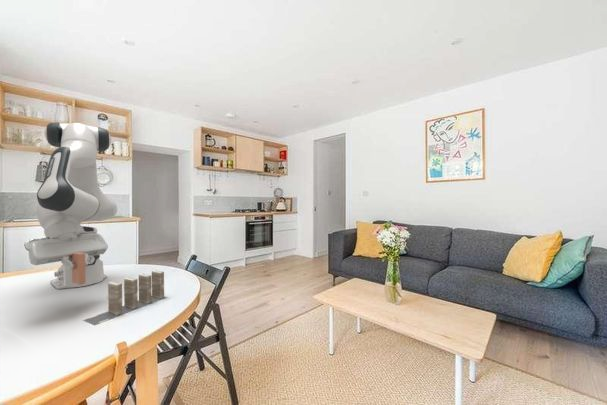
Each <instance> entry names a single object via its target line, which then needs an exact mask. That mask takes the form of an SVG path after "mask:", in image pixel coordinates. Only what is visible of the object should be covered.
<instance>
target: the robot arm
mask: <svg viewBox="0 0 607 405" xmlns="http://www.w3.org/2000/svg"><path fill="white" fill-rule="evenodd" d="M43 132H44V137H45V140H46V141H47V143H48V144H49V145H50V146H52V147H56V148H55V150H54V151H53V152H52V153H51V154H50V158H49V160H48V162H47V167H46V171H45V175H44V177H43V181H42V183H41V185H40V186H39V188H38V190H37V192H36V200H37V202H38V203H37V206H36V217H37V220H38V223H39V224H40V225H39V226H41V228H42V229H44V230H43V233H44V237H41V238H30V239H29V240H27V241H25V242H24V243H23V244H24V245H23V246H24V248H25V250H26V251H28V258H29V263H30V264H31V265H33V266H40V265H46V264H53V263H57V262H61V264H62V265H61V266H60V267H59V268H58V269H57V271H54V277H55V278H54V279H53V278H52V279H51V280H50V284H51V285H52V286H53V287H54V288H55V289H56V290H59V289H68V288H69V289H70V288H71V289H72V288H80V287H86V286H90V285H91V286H92V285H95V284H98V283H100V282H102V281H104V279H107V277H108V275H107V274H105V271H104V270H105V268H104V261H103V260H101V259H100V258H101V255H104V254H105V253H106V251H107V250H108V248H109V245H108V244H107V242H106V240H105V238H104V237H103V236H102V234H99V233H98V229H97V228H96V227H95V226H93V227H92V226H87V225H86V226H84V225H81V223H84V222H89V223H90V222H101V221H107V220H113V218H114V217H115V216H116V215H117V212H118V206H117V203H116V202H115V201H114V200H113V199H111V198H109V197H108V196H107V195H106V194H105V193H104V192H103V191H102V190H101V187H100V185H99V182H98V181H99V180H98V174H97V173H98V169H97V168H98V167H97V159H98V154H99V155H101V154H102V153H103V152H106V151H107V150H109V148H110V147H111V144H112V137H111V134H110V132H109V130H107V129H105V128H103V127H100V126H99V127H97V126H93V125H86V124H84V123H80V122H73V123H71V122H70V123H67V122H66V123H64V122H63V123H62V122H61V123H60V122H57V121H55V122H50V123H48V124H47V125H46V127H45V129H44V131H43ZM77 252H80V253H85V278H86V283H84V284H80V285H79V284H75V283H72V269H76V267H77V264H76V262H72V255H73V253H77Z"/></svg>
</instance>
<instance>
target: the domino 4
mask: <svg viewBox="0 0 607 405" xmlns="http://www.w3.org/2000/svg"><path fill="white" fill-rule="evenodd" d="M151 293H152V297H155V298H158V299H162V298H164V297H165V272H164V271H161V270H151ZM162 300H163V299H162Z"/></svg>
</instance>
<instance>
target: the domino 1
mask: <svg viewBox="0 0 607 405" xmlns="http://www.w3.org/2000/svg"><path fill="white" fill-rule="evenodd" d="M107 290H108V291H107V292H108V294H107V295H108V296H107V302H108V303H107V304H108V306H107V307H108V310H107V311H109V313H112V314H115V315H119V314H122V306H123V283H122V282H117V281H110V282H107Z"/></svg>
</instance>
